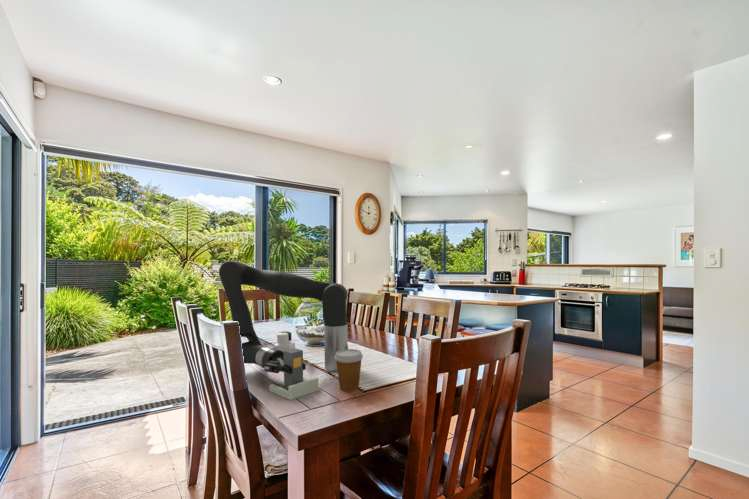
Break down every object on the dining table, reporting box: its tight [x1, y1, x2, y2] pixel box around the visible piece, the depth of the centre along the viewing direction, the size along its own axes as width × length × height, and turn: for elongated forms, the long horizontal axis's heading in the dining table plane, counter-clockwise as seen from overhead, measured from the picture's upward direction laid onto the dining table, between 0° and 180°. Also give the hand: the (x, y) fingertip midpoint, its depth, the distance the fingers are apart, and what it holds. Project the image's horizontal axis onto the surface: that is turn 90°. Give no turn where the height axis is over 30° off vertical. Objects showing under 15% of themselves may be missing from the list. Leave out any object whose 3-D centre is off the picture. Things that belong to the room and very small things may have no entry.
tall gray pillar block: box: [283, 347, 304, 389], centre depth 124 cm, size 5×4×12 cm
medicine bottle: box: [272, 331, 296, 352], centre depth 160 cm, size 7×7×12 cm
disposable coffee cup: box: [335, 348, 364, 393], centre depth 125 cm, size 10×10×12 cm
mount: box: [269, 377, 320, 401], centre depth 124 cm, size 12×11×4 cm
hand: (298, 368), depth 122 cm, fingers closed on tall gray pillar block, 4 cm apart
